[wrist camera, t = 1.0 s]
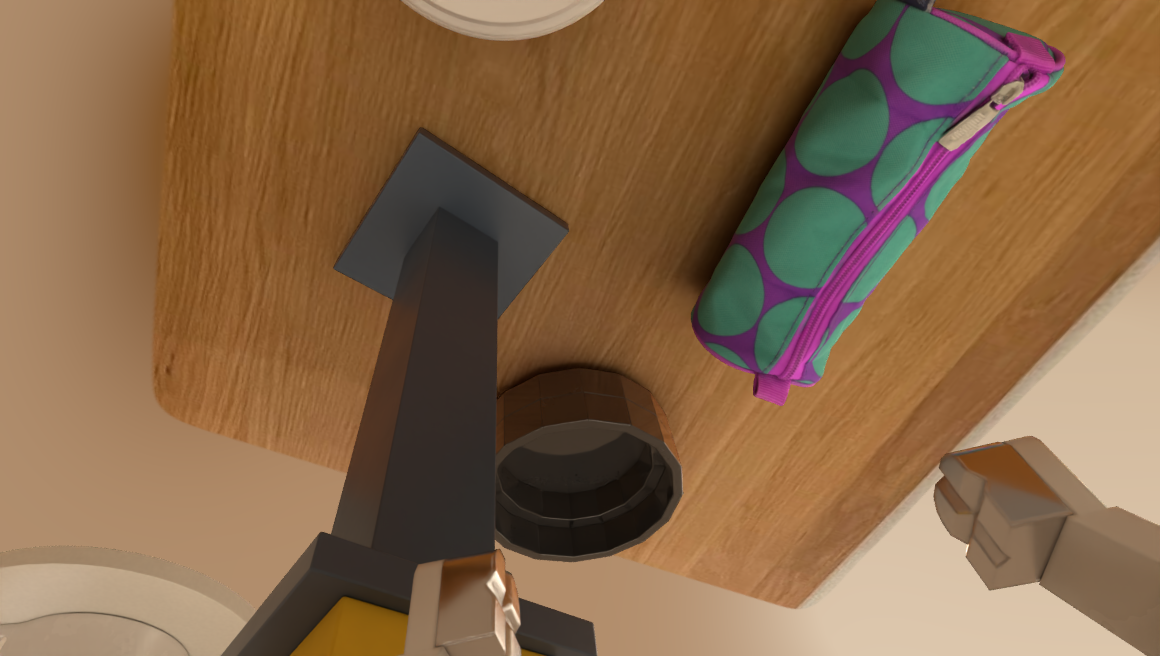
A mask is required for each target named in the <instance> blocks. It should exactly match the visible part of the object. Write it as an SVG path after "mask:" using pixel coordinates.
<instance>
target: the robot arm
mask: <svg viewBox="0 0 1160 656" xmlns="http://www.w3.org/2000/svg"><path fill="white" fill-rule="evenodd" d="M939 469H940V470H941V471H942V473H943V474H944V476H943V477H942V478H941V479H940V480H939V481H938V482H937V483H936V484H935V490H934V501H935V506H936V510H937V513H938V515H939V517H940V519H941V521H942V523H943V525H944V526H945V528H946V529H947V531H948V532H949V533H950V535H951V536H953V537H955V538H956V539H958V540H960V541H962V542H964V543H966V544H967V549H966V558H967V559H968V561H969V562H970V563H971V565H972V566H973V568H974V569H975V571H976V572H977V573H978V575H979V576H980V578H981V579H982V581H983V582H984V583H985V585H986V586H987V588H988V589H989V590H995V589H1001V588H1006V587H1012V586H1018V585H1023V584H1029V583H1035V582H1040V584H1039V585H1041V586H1043V587H1044V588H1045V589H1047V590H1048V591H1050V592H1051V593H1053V594H1054V595H1056V596H1058V597H1059V598H1061V599H1062V600H1064V601H1065V602H1067V603H1068V604H1070V605H1071V606H1073V607H1074V608H1076V609H1077V610H1079V611H1080V612H1082V613H1083V614H1085V615H1086V616H1088V617H1089V618H1091V619H1092V620H1094V621H1095V622H1097V623H1098V624H1100V625H1101V626H1103V627H1104V628H1106V629H1108V630H1109V631H1110V632H1112V633H1113V634H1115V635H1116V636H1118V637H1119V638H1121V639H1122V640H1124V641H1126V642H1127V643H1129V644H1130V645H1132V646H1133V647H1135V648H1136V649H1138V650H1139V651H1141V652H1142V653H1144V654H1145V655H1147V656H1160V525H1157V524H1155V523H1153V522H1151V521H1148V520H1146V519H1144V518H1141V517H1139V516H1137V515H1135V514H1133V513H1130V512H1128V511H1126V510H1124V509H1121V508H1119V507H1117V506H1116V507H1110V508H1107V507H1106V506H1105V505H1104V504H1103V503H1102V502H1101V501H1100V500H1099V499H1098V498H1097V497H1096V496H1095V495H1094V494H1093V493H1092V492H1091V491H1090V490H1089V488H1087V486H1086V485H1085V484H1084V483H1082V481H1081V480H1079V479H1078V477H1077V476H1076V475H1075V474H1073V473H1072V472H1071V470H1070V469H1069V468H1067V466H1066V465H1064V463H1063V462H1062V461H1061V460H1059V459H1058V457H1057V456H1055V454H1053V452H1052V451H1050V450H1049V448H1048V447H1047V446H1046V445H1044V443H1042V441H1040V440H1039V439H1037V438H1035V437H1033V436H1027V437H1022V438H1017V439H1013V440H1009V441H1004V442H995V443H991V444H987V445H982V446H978V447H973V448H969V449H965V450H960V451H956V452H951V453H947V454H945V455H944V456H943V457H942V458H941V461H940V465H939ZM520 625H521V620H520V605H519V598H518V592H517V588H516V584H515V581H514V578H513V576H512V574H511V573H510V572H508V571H506V570H505V558H504V556H503V554H502V552H501V550H500V549H496V550H491V551H485V552H480V553H475V554H470V555H464V556H459V557H454V558H449V559H443V560H438V561H433V562H428V563H423V564H419V565H418V566H417V568H416V571H415V573H414V578H413V586H412V594H411V602H410V609H409V617H408V625H407V633H406V640H405V648H404V654H401V655H397V656H522V655H521V647H520V645H519V643H518V640H517V638H516V636H515V633H516V632H517V630H518V628H519V626H520ZM0 656H189V654H188V652H187V651H186V649H185V648H184V647H183V646H182V645H181V644H180V643H179V642H178V641H177V640H176V639H174V638H173V637H171V636H170V635H168V634H166V633H165V632H163V631H161V630H159V629H157V628H154V627H152V626H149V625H147V624H144V623H141V622H138V621H134V620H131V619H127V618H122V617H117V616H111V615H104V614H94V613H65V614H56V615H49V616H44V617H40V618H37V619H34V620H30V621H27V622H23V623H18V624H0Z"/></svg>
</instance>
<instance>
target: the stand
mask: <svg viewBox="0 0 1160 656" xmlns="http://www.w3.org/2000/svg"><path fill="white" fill-rule="evenodd" d="M568 232H569V228H568V224H567V223H565V222H564V221H562V220H561V219H559V218H558V217H556V216H555V215H553V214H552V213H550V212H549V211H547V210H546V209H544V208H543V207H541V206H540V205H538V204H537V203H535V202H534V201H532V200H531V199H529V198H528V197H526V196H525V195H523V194H522V193H520V192H519V191H517V190H516V189H514V188H513V187H511V186H509V185H508V184H506V183H505V182H503V181H502V180H500V179H499V178H497V177H496V176H494V175H493V174H491V173H490V172H488V171H487V170H485V169H484V168H482V167H481V166H479V165H478V164H476V163H475V162H473V161H472V160H470V159H469V158H467V157H466V156H464V155H463V154H461V153H460V152H458V151H457V150H455V149H454V148H452V147H451V146H449V145H448V144H446V143H445V142H443V141H442V140H440V139H439V138H437V137H436V136H434V135H433V134H431V133H429V132H428V131H426V130H425V129H423V128H422V127H420V128H419V130H418V132H417V133H416V135H415V136H414V138H413V140H412V141H411V143H410V144H409V146H408V148H407V149H406V151H405V152H404V154H403V155H402V157H401V159H400V160H399V162H398V163H397V165H396V167H395V168H394V170H393V171H392V173H391V175H390V176H389V178H388V179H387V181H386V183H385V184H384V186H383V187H382V189H381V191H380V192H379V194H378V195H377V197H376V199H375V200H374V202H373V203H372V205H371V207H370V208H369V210H368V211H367V213H366V214H365V216H364V218H363V219H362V221H361V222H360V224H359V226H358V227H357V229H356V230H355V232H354V234H353V235H352V237H351V238H350V240H349V242H348V243H347V245H346V246H345V248H344V250H343V251H342V253H341V254H340V256H339V258H338V259H337V261H336V263H335V265H334V269H335V270H337V271H338V272H340V273H342V274H344V275H346V276H348V277H350V278H352V279H354V280H356V281H358V282H360V283H361V284H363V285H365V286H367V287H369V288H371V289H373V290H375V291H377V292H379V293H381V294H382V295H384V296H386V297H388V298H390V299H392V300H393V302H392V306H391V310H390V314H389V317H388V321H387V325H386V329H385V332H384V336H383V340H382V344H381V348H380V351H379V355H378V359H377V363H376V366H375V370H374V374H373V378H372V382H371V385H370V389H369V393H368V397H367V400H366V404H365V408H364V412H363V416H362V419H361V423H360V427H359V431H358V434H357V438H356V442H355V446H354V450H353V453H352V457H351V461H350V465H349V468H348V472H347V476H346V480H345V483H344V487H343V491H342V495H341V499H340V503H339V507H338V510H337V514H336V518H335V522H334V525H333V529H332V533H331V534H328V533H324V532H320V533H319V534H318V536H317V537H316V538H315V539H314V541H313V542H312V543H311V544H310V546H309V547H308V548H307V549H306V551H305V552H304V553H303V554H302V555H301V557H300V558H299V559H298V560H297V562H296V563H295V564H294V565H293V567H292V568H291V569H290V570H289V572H288V573H287V574H286V575H285V576H284V578H283V579H282V580H281V582H280V583H279V584H278V585H277V586H276V588H275V589H274V590H273V591H272V593H271V594H270V595H269V596H268V598H267V599H266V600H265V601H264V603H263V604H262V605H261V606H260V607H259V609H258V610H257V611H256V612H255V614H254V615H253V616H252V617H251V619H250V620H249V621H248V622H247V624H246V625H245V626H244V627H243V629H242V630H241V631H240V632H239V633H238V635H237V636H236V637H235V638H234V640H233V641H232V642H231V643H230V645H229V646H228V647H227V648H226V650H225V651H224V652H223V653H222V655H221V656H290V655H291V653H292V652H293V651H294V650H295V649H296V648H297V647H298V646H299V645H300V643H301V642H302V641H303V640H304V639H305V638H306V637H307V636H308V635H309V634H310V632H311V631H312V630H313V629H314V628H315V627H316V626H317V625H318V624H319V622H320V621H321V620H322V619H323V618H324V617H325V616H326V615H327V614H328V612H329V611H330V610H331V609H332V608H333V607H334V606H335V605H336V604H337V602H338V601H339V600H340V599H341V598H342V597H349V598H353V599H356V600H360V601H363V602H366V603H370V604H373V605H377V606H380V607H383V608H387V609H390V610H393V611H397V612H400V613H404V614H407V615H409V609H410V602H411V594H412V586H413V578H414V573H415V571H416V568H417V566H418V565H419V564H423V563H428V562H433V561H438V560H443V559H449V558H454V557H459V556H464V555H470V554H475V553H480V552H485V551H491V550H495V480H496V396H497V320H498V318H499V317H500V316H501V315H502V313H503V312H504V311H505V310H506V308H507V307H508V306H509V305H510V304H511V302H512V301H513V300H514V299H515V297H516V296H517V295H518V294H519V292H520V291H521V290H522V289H523V287H524V286H525V285H526V284H527V283H528V281H529V280H530V279H531V278H532V276H533V275H534V274H535V273H536V271H537V270H538V269H539V268H540V267H541V265H542V264H543V263H544V262H545V260H546V259H547V258H548V257H549V255H550V254H551V253H552V252H553V251H554V249H555V248H556V247H557V246H558V244H559V243H560V242H561V241H562V239H563V238H564V237H565V236H566V235H567V233H568ZM519 605H520V620H521V625H520V626H519V628H518V630H517V632H516V633H515V636H516V638H517V640H518V643H519V645H520V647H521V648H522V649H525V650H528V651H532V652H535V653H539V654H542V655H545V656H597V648H596V639H595V631H594V624H593V623H592V622H589V621H586V620H584V619H581V618H577V617H575V616H571V615H569V614H566V613H563V612H559V611H557V610H554V609H551V608H548V607H545V606H542V605H539V604H536V603H533V602H530V601H527V600H524V599H521V598H519Z"/></svg>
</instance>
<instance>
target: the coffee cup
mask: <svg viewBox="0 0 1160 656" xmlns="http://www.w3.org/2000/svg"><path fill="white" fill-rule="evenodd" d="M401 1H402V2H403V3H405V4H406V5H407V6H409V7H410V8H411V9H413V10H414V11H415V12H417V13H419V14H420V15H422V16H423V17H425V18H427V19H428V20H430V21H432V22H434V23H436V24H438V25H440V26H442V27H444V28H447V29H449V30H452V31H454V32H457V33H460V34H463V35H467V36H471V37H475V38H480V39H487V40H497V41H514V40H524V39H530V38H535V37H540V36H543V35H547V34H550V33H553V32H555V31H558V30H560V29H563V28H565V27H567V26H569V25H571V24H573V23H574V22H576V21H578V20H580V19H581V18H583V17H584V16H586V15H587V14H589V13H590V12H591V11H593V10H594V9H595V8H596V7H598V6H599V5H600V4H601V3H602V2H603V1H604V0H401Z"/></svg>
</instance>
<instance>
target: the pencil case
mask: <svg viewBox="0 0 1160 656" xmlns="http://www.w3.org/2000/svg"><path fill="white" fill-rule="evenodd" d="M935 1H936V0H877V1H876V3H875V4H874V6H873V8H872V9H871V10H870V12H869V13H868V14H867V15H866V16H865V17H864V18H863V19H862V20H861V21H860V22H859V23H858V25H857V26H856V27H855V29H854V31H853V32H852V34H851V36H850V37H849V39H848V41H847V42H846V44H845V46H844V47H843V49H842V51H841V52H840V54H839V56H838V57H837V59H836V61H835V63H834V64H833V65H832V67H831V68H830V70H829V72H828V74H827V75H826V77H825V79H824V81H823V82H822V84H821V86H820V88H819V89H818V91H817V93H816V94H815V96H814V98H813V99H812V101H811V102H810V104H809V105H808V107H807V108H806V110H805V112H804V113H803V115H802V117H801V119H800V121H799V123H798V125H797V127H796V129H795V130H794V132H793V134H792V136H791V137H790V139H789V141H788V142H787V144H786V145H785V147H784V149H783V150H782V152H781V153H780V155H779V156H778V158H777V160H776V161H775V163H774V165H773V166H772V168H771V170H770V171H769V173H768V175H767V176H766V178H765V179H764V181H763V183H762V184H761V186H760V188H759V190H758V192H757V194H756V196H755V198H754V200H753V202H752V204H751V205H750V207H749V209H748V210H747V212H746V214H745V216H744V218H743V220H742V221H741V223H740V225H739V227H738V228H737V230H736V232H735V234H734V235H733V238H732V240H731V242H730V244H729V246H728V247H727V249H726V251H725V253H724V254H723V256H722V258H721V260H720V261H719V263H718V265H717V266H716V268H715V270H714V273H713V275H712V277H711V279H710V281H709V282H708V283H707V285H706V286H705V288H704V289H703V291H702V292H701V294H700V296H699V297H698V300H697V302H696V304H695V306H694V308H693V310H692V312H691V322H692V327H693V330H694V333H695V335H696V337H697V338H698V340H699V341H700V343H701V344H702V345H703V347H704V348H705V349H706V350H707V351H709V352H710V353H711V354H712V355H713V356H714V357H716V358H717V359H719V360H720V361H722V362H724V363H725V364H727V365H729V366H731V367H733V368H736V369H739V370H742V371H745V372H748V373H753V374H755V379H754V385H753V395H754V396H755V397H758V398H760V399H763V400H766V401H769V402H772V403H775V404H777V405H780V406H782V405H783V404H784V403H785V401H786V398H787V395H788V391H789V389H790V384H793V385H797V386H801V387H811V386H813V385H814V384H815V383H816V382H818V381H819V380H820V379H821V378H822V376H823V373H824V369H825V365H826V362H827V359H828V356H829V353H830V350H831V347H832V346H833V345H834V344H835V343H836V342H837V340H838V339H839V337H840V335H841V334H842V332H843V331H844V330H845V329H846V328H847V327H848V326H849V325H850V324H851V323H852V321H853V320H854V319H855V318H856V317H857V315H858V314H859V312H860V310H861V308H862V306H863V304H864V301H865V300H866V298H867V297H868V296H869V295H870V294H871V293H872V292H873V291H874V289H875V288H876V286H877V285H878V283H879V282H880V281H881V280H882V278H883V277H884V276H885V275H886V273H887V272H888V271H889V270H890V268H891V267H892V266H893V265H894V263H895V262H896V261H897V260H898V258H899V257H900V256H901V254H902V253H903V252H904V251H905V249H906V248H907V247H908V245H909V244H910V243H911V242H912V241H913V239H914V238H915V237H916V236H917V235H918V234H919V232H920V231H921V230H922V229H923V228H924V227H925V225H926V224H927V223H928V222H929V220H930V219H931V218H932V216H933V215H934V213H935V211H936V210H937V208H938V207H939V205H940V204H941V203H942V201H943V200H944V199H945V197H946V196H947V194H948V193H949V191H950V190H951V188H952V187H953V186H954V185H955V183H956V182H957V181H958V180H959V179H960V178H961V177H962V175H963V173H964V172H965V170H966V168H967V166H968V164H969V161H970V158H971V157H972V156H973V155H974V153H975V152H976V151H977V150H978V149H979V147H980V146H981V145H982V143H983V142H984V141H985V139H986V137H987V136H988V134H989V132H990V131H991V130H992V128H993V127H994V126H995V125H996V124H997V122H998V121H999V120H1000V119H1001V118H1002V117H1003V116H1004V115H1005V114H1006V112H1007V111H1008V110H1009V108H1011V107H1014V106H1016V105H1018V104H1019V103H1021V102H1023V101H1024V100H1025V99H1027V98H1028V97H1030V96H1033V95H1036V94H1040V93H1042V92H1044V91H1046V90H1048V89H1050V88H1051V87H1052V86H1053V85H1054V84H1055V83H1056V81H1057V80H1058V79H1059V78H1060V76H1061V75H1062V73H1063V71H1064V64H1065V56H1064V55H1063V53H1062V52H1061V51H1059V50H1058V49H1056V48H1054V47H1052V46H1049V45H1047V44H1046V43H1045V42H1044V41H1042V40H1041V39H1039V38H1037V37H1034V36H1032V35H1029V34H1027V33H1024V32H1021V31H1018V30H1015V29H1012V28H1009V27H1006V26H1003V25H1000V24H997V23H994V22H990V21H987V20H984V19H981V18H979V17H976V16H972V15H969V14H965V13H961V12H957V11H952V10H946V9H940V8H935V7H932V6H933V4H934V3H935Z"/></svg>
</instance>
